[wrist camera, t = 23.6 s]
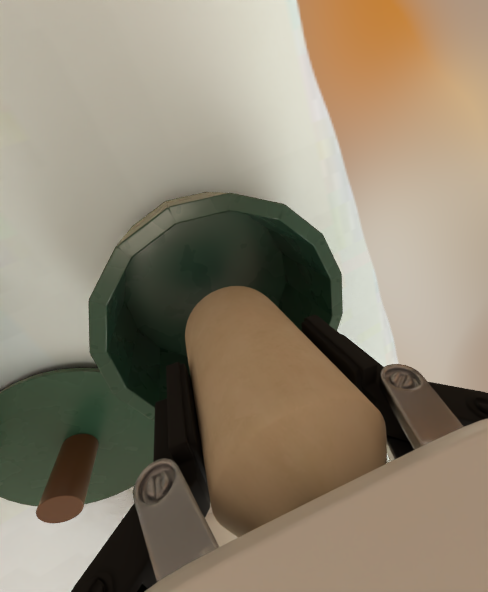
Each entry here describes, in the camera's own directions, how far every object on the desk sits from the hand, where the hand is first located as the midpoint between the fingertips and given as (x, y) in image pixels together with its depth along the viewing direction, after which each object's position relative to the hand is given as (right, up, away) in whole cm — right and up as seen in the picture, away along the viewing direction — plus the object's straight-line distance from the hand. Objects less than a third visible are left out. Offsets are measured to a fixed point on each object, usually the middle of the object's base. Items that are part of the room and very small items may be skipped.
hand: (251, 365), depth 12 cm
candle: (-1, +1, +3) cm, 4 cm away
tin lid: (-15, -10, +11) cm, 21 cm away
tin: (-3, +4, +10) cm, 11 cm away
